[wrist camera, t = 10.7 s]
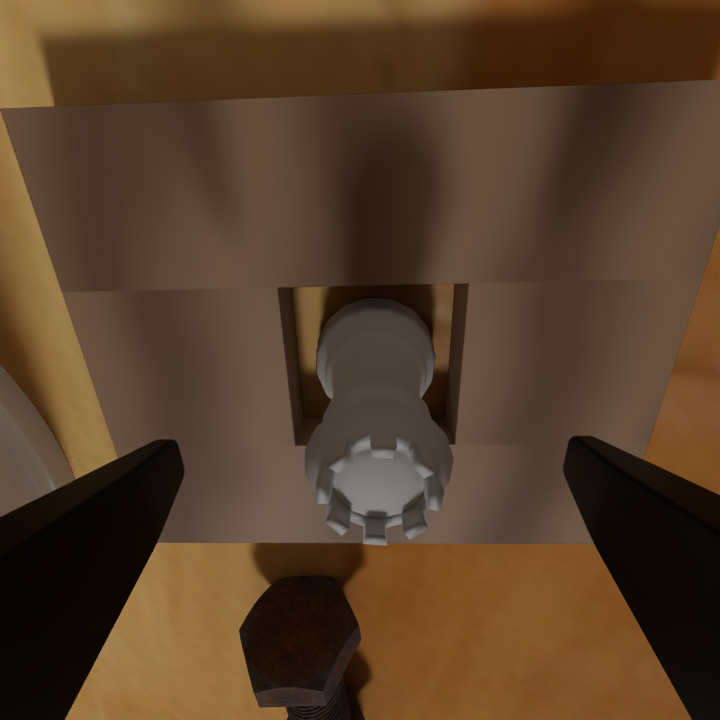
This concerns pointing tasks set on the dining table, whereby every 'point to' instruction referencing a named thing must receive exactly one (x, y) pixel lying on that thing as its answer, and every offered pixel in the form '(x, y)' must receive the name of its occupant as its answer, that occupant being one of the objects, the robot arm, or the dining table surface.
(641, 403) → the socket board
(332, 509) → the rook chess piece
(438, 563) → the dining table surface
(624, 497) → the robot arm
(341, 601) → the bolt
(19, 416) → the plate stack
